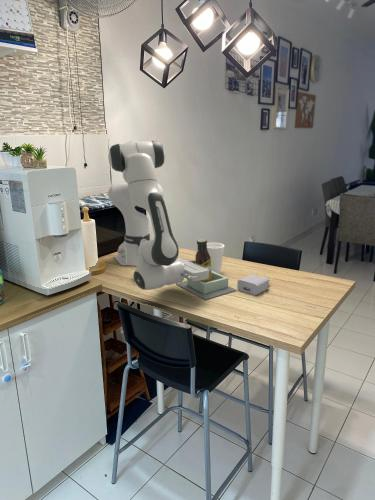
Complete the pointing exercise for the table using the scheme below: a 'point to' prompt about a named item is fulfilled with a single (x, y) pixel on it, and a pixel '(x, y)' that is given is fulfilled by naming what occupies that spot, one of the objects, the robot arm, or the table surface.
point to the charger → (253, 284)
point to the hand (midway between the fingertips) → (203, 264)
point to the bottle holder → (210, 283)
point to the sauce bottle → (203, 257)
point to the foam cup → (216, 255)
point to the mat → (207, 295)
